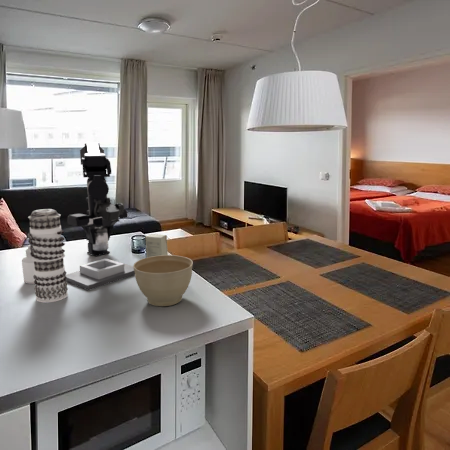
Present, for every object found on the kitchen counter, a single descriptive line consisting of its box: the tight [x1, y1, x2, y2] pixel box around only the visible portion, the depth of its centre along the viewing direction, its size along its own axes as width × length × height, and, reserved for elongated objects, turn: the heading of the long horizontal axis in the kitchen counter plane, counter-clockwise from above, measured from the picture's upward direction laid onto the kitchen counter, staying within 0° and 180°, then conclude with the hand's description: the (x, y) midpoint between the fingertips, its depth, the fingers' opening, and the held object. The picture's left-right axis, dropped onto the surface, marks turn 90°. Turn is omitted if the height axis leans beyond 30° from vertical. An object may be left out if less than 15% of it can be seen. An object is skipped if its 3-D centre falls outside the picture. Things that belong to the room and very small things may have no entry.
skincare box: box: [145, 233, 169, 258], centre depth 130 cm, size 6×4×12 cm
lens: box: [93, 226, 110, 251], centre depth 122 cm, size 5×5×7 cm
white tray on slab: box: [65, 258, 135, 291], centre depth 124 cm, size 20×14×4 cm
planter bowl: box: [132, 254, 194, 307], centre depth 105 cm, size 16×16×11 cm
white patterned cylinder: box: [27, 208, 69, 304], centre depth 105 cm, size 9×9×25 cm
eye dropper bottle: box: [21, 244, 35, 285], centre depth 117 cm, size 4×6×12 cm
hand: (100, 242), depth 122 cm, fingers closed on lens, 5 cm apart
